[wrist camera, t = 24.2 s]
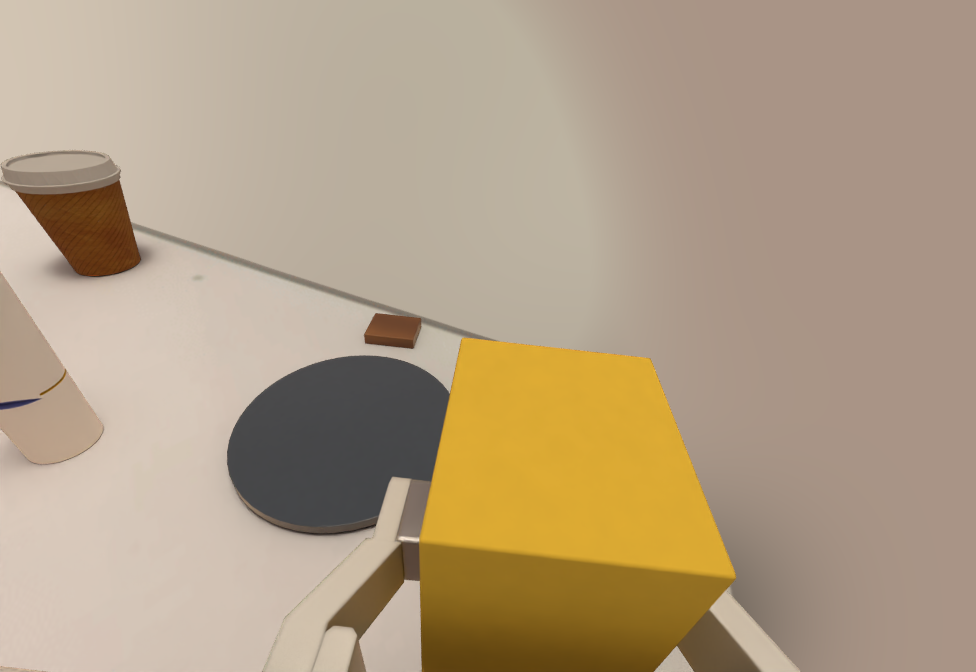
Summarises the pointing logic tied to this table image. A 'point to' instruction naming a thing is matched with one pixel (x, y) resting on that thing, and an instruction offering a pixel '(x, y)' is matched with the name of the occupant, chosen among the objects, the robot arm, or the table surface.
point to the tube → (39, 391)
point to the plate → (336, 441)
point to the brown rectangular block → (393, 330)
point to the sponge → (562, 518)
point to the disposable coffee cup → (77, 207)
